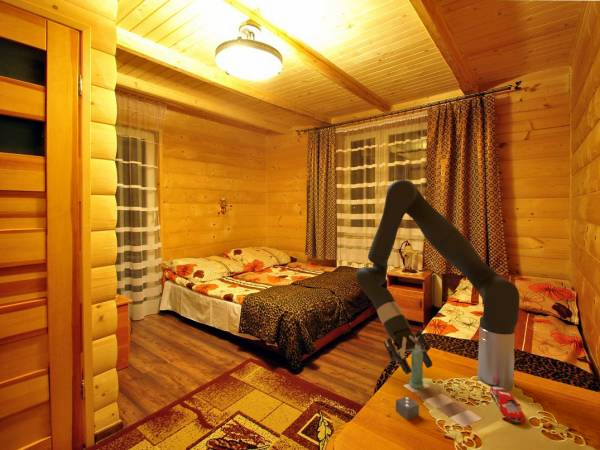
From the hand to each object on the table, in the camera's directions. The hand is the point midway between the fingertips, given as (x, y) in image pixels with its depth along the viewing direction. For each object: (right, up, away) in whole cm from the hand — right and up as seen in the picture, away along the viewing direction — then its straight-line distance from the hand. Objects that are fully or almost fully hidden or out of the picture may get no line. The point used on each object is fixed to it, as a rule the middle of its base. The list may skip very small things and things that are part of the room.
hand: (419, 369), depth 91 cm
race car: (+21, -8, -7) cm, 23 cm away
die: (-8, -7, -11) cm, 15 cm away
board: (+3, -7, -6) cm, 10 cm away
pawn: (-1, -5, +1) cm, 5 cm away
